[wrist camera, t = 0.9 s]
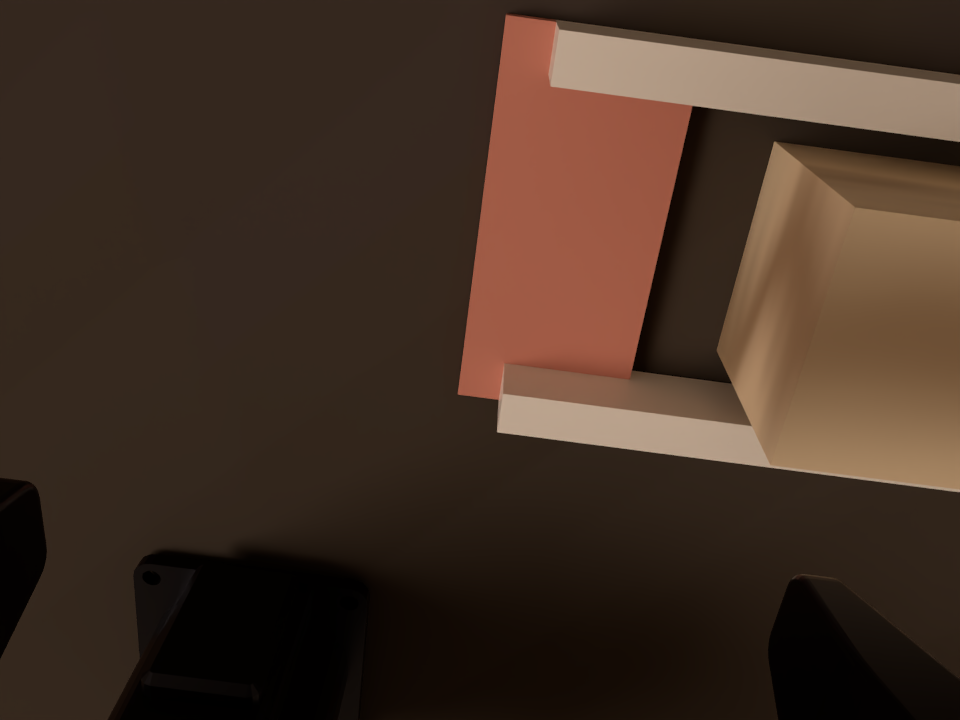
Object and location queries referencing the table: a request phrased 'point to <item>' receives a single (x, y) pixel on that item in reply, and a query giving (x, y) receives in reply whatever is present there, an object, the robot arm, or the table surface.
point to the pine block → (851, 316)
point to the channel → (629, 219)
